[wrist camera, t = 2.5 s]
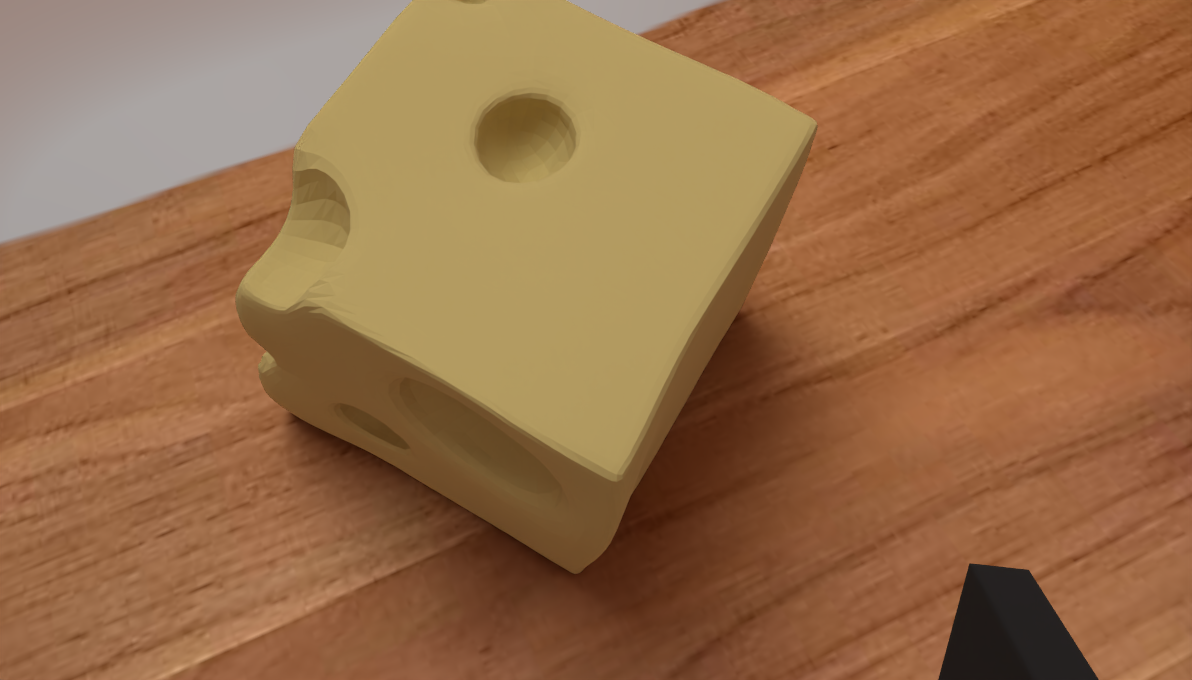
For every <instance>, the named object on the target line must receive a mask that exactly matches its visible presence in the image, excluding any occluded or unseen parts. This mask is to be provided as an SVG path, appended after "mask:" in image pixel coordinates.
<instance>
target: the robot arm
mask: <svg viewBox="0 0 1192 680" xmlns="http://www.w3.org/2000/svg"><path fill="white" fill-rule="evenodd" d="M938 680H1098V678H1097V676H1096V675H1095V673H1094V672H1093V670H1092V669H1091V667H1090V665H1089V664H1088V662H1087V661H1086V659H1085V658H1084V656H1083V654H1082V653H1081V651H1080V650H1079V648H1078V647H1077V645H1076V643H1075V642H1074V640H1073V639H1072V637H1071V636H1070V634H1069V632H1068V631H1067V629H1066V628H1065V626H1064V625H1063V623H1062V621H1061V620H1060V618H1059V617H1058V615H1057V614H1056V612H1055V610H1054V609H1053V607H1052V606H1051V604H1050V603H1049V601H1048V600H1047V598H1046V596H1045V595H1044V593H1043V592H1042V590H1041V589H1040V587H1039V585H1038V584H1037V582H1036V581H1035V579H1034V578H1033V576H1032V574H1031V573H1030V571H1029V570H1025V569H1016V568H1007V567H998V566H989V565H980V564H971V563H970V564H969V567H968V571H967V575H966V579H965V582H964V586H963V590H962V594H961V597H960V601H959V605H958V608H957V612H956V616H955V620H954V623H953V627H952V631H951V635H950V638H949V642H948V646H947V649H946V653H945V657H944V661H943V664H942V668H941V672H940V676H939V679H938Z"/></svg>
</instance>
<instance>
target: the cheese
mask: <svg viewBox="0 0 1192 680" xmlns="http://www.w3.org/2000/svg"><path fill="white" fill-rule="evenodd" d="M816 131H817V122H816V121H815V120H814V119H812V118H811V117H809V116H807V115H805V114H804V113H802V112H800V111H798V110H796V109H794V108H792V107H791V106H789V105H787V104H786V103H784V102H782V101H780V100H778V99H777V98H775V97H773V96H771V95H769V94H767V93H765V92H763V91H761V90H759V89H757V88H755V87H753V86H750V85H748V84H746V83H744V82H742V81H740V80H738V79H736V78H734V77H731V76H729V75H727V74H724V73H722V72H720V71H718V70H715V69H713V68H711V67H708V66H706V65H704V64H701V63H699V62H697V61H695V60H692V59H690V58H688V57H685V56H683V55H681V54H678V53H676V52H674V51H672V50H669V49H667V48H665V47H663V46H660V45H658V44H656V43H654V42H652V41H649V40H647V39H645V38H643V37H641V36H638V35H636V34H634V33H632V32H630V31H628V30H625V29H623V28H621V27H619V26H617V25H615V24H613V23H611V22H609V21H607V20H604V19H602V18H600V17H598V16H596V15H594V14H592V13H590V12H588V11H586V10H584V9H582V8H580V7H578V6H576V5H574V4H572V3H570V2H568V1H566V0H412V2H411V3H410V4H409V5H408V6H407V7H406V8H405V9H404V10H403V11H402V12H401V13H400V14H399V15H398V16H397V18H396V19H395V20H394V21H393V23H392V24H391V25H390V26H389V27H388V29H387V30H386V31H385V32H384V34H383V35H382V36H381V37H380V38H379V40H378V41H377V42H376V43H375V45H374V46H373V47H372V48H371V50H370V51H369V52H368V53H367V54H366V56H365V57H364V58H363V59H362V60H361V62H360V63H359V64H358V66H357V67H356V68H355V69H354V70H353V72H352V73H351V74H350V75H349V76H348V78H347V79H346V80H345V81H344V83H343V84H342V85H341V86H340V87H339V88H338V90H337V91H336V92H335V93H334V94H333V96H332V97H331V98H330V99H329V100H328V101H327V103H326V104H325V105H324V106H323V108H322V109H321V110H320V112H319V113H318V114H317V115H316V116H315V117H314V119H313V120H312V121H311V122H310V123H309V124H308V126H307V127H306V129H305V131H304V132H303V134H302V136H301V138H300V139H299V141H298V143H297V144H296V146H295V149H294V159H293V194H292V201H291V206H290V210H289V213H288V216H287V219H286V221H285V223H284V225H283V227H282V229H281V231H280V233H279V235H278V236H277V238H276V239H275V241H274V242H273V244H272V245H271V246H270V247H269V248H268V250H267V251H266V252H265V253H264V254H263V255H262V257H261V258H260V259H259V260H258V261H257V262H256V263H255V264H254V265H253V266H252V268H251V269H250V270H249V271H248V272H247V274H246V275H245V277H244V278H243V279H242V281H241V283H240V286H239V288H238V290H237V293H236V309H237V312H238V315H239V318H240V321H241V323H242V325H243V327H244V329H245V330H246V332H247V333H248V335H249V336H250V337H251V338H253V339H254V340H255V341H256V342H257V343H258V344H260V345H261V346H262V347H263V348H264V349H265V350H266V351H267V352H266V353H265V354H264V355H263V356H262V359H261V362H260V363H259V364H258V370H259V378H260V380H261V383H262V385H263V388H264V390H265V391H266V393H267V394H268V395H269V396H270V397H271V398H272V399H273V400H274V401H275V402H276V403H278V404H279V405H280V406H282V407H283V408H285V409H286V410H288V411H289V412H291V413H292V414H294V415H296V416H297V417H299V418H300V419H302V420H304V421H305V422H307V423H309V424H311V425H313V426H315V427H317V428H319V429H321V430H323V431H325V432H328V433H330V434H332V435H334V436H336V437H338V438H341V439H343V440H345V441H347V442H349V443H351V444H354V445H356V446H358V447H360V448H362V449H364V450H366V451H368V452H370V453H372V454H374V455H375V456H377V457H379V458H381V459H383V460H385V461H386V462H388V463H390V464H392V465H394V466H395V467H397V468H399V469H400V470H402V471H404V472H405V473H407V474H408V475H410V476H412V477H413V478H415V479H417V480H418V481H420V482H422V483H423V484H425V485H427V486H428V487H430V488H432V489H433V490H435V491H437V492H438V493H440V494H442V495H443V496H445V497H447V498H448V499H450V500H452V501H453V502H455V503H457V504H459V505H460V506H462V507H464V508H465V509H467V510H469V511H470V512H472V513H474V514H475V515H477V516H479V517H480V518H482V519H484V520H485V521H487V522H489V523H490V524H492V525H494V526H495V527H497V528H499V529H501V530H502V531H504V532H506V533H507V534H509V535H510V536H512V537H514V538H515V539H517V540H518V541H520V542H522V543H523V544H525V545H526V546H528V547H530V548H531V549H533V550H534V551H536V552H538V553H539V554H541V555H542V556H544V557H546V558H547V559H549V560H551V561H552V562H554V563H556V564H557V565H559V566H561V567H563V568H564V569H566V570H568V571H569V572H571V573H574V574H577V573H580V572H581V571H582V570H583V569H584V568H585V567H586V566H588V565H589V564H590V563H592V562H593V561H595V560H596V559H597V558H598V557H599V556H600V555H601V554H602V553H603V552H604V551H605V550H606V549H607V547H608V546H609V544H610V543H611V541H612V539H613V537H614V535H615V533H616V531H617V528H618V526H619V523H620V521H621V519H622V516H623V514H624V511H625V509H626V506H627V504H628V501H629V499H630V496H631V495H632V493H633V492H634V490H635V488H636V487H637V485H638V484H639V482H640V480H641V479H642V477H643V475H644V474H645V472H646V470H647V469H648V467H649V465H650V464H651V462H652V460H653V458H654V457H655V455H656V453H657V452H658V450H659V448H660V446H661V445H662V443H663V441H664V439H665V438H666V436H667V434H668V432H669V431H670V429H671V427H672V425H673V424H674V422H675V420H676V418H677V417H678V415H679V413H680V411H681V410H682V408H683V406H684V404H685V403H686V401H687V399H688V397H689V396H690V394H691V392H692V390H693V388H694V387H695V385H696V383H697V381H698V379H699V378H700V376H701V374H702V372H703V370H704V369H705V367H706V365H707V364H708V362H709V360H710V359H711V357H712V355H713V353H714V352H715V350H716V348H717V347H718V345H719V343H720V341H721V340H722V338H723V337H724V335H725V333H726V332H727V330H728V329H729V327H730V325H731V324H732V322H733V320H734V319H735V317H736V316H737V314H738V312H739V311H740V309H741V307H742V305H743V303H744V301H745V299H746V297H747V295H748V293H749V291H750V289H751V287H752V284H753V282H754V280H755V278H756V276H757V274H758V272H759V270H760V268H761V266H762V264H763V261H764V259H765V257H766V255H767V253H768V251H769V249H770V246H771V244H772V242H773V239H774V237H775V235H776V232H777V230H778V228H779V226H780V223H781V221H782V219H783V216H784V214H785V212H786V209H787V207H788V205H789V202H790V200H791V198H792V195H793V193H794V190H795V188H796V186H797V183H798V181H799V179H800V176H801V174H802V171H803V169H804V166H805V163H806V161H807V158H808V155H809V152H810V149H811V146H812V143H813V140H814V137H815V134H816Z"/></svg>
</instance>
